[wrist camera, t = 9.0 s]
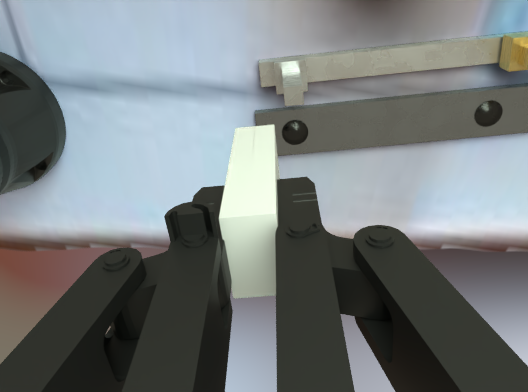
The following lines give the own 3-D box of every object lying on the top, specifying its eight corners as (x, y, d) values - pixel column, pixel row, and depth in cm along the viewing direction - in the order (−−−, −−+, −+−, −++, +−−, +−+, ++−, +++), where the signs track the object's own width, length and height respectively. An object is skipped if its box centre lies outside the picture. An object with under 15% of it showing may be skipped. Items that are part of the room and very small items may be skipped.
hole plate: (260, 153, 51) (260, 157, 50) (255, 110, 49) (254, 113, 48) (538, 127, 49) (544, 131, 48) (547, 81, 47) (553, 83, 46)
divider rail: (261, 86, 47) (260, 116, 39) (258, 56, 46) (255, 81, 38) (542, 57, 46) (601, 82, 37) (548, 25, 44) (611, 44, 36)
